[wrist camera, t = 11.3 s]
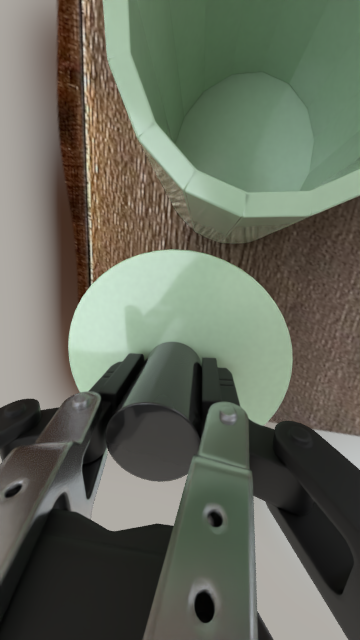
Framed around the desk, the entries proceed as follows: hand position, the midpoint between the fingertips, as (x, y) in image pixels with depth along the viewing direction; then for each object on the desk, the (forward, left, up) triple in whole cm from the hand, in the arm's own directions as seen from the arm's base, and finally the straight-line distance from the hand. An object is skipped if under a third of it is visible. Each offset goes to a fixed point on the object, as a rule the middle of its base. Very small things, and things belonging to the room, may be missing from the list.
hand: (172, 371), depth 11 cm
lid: (0, 0, -1) cm, 1 cm away
